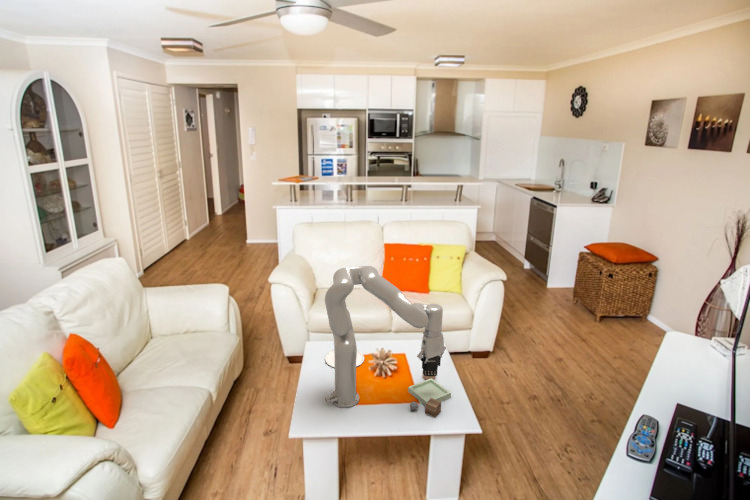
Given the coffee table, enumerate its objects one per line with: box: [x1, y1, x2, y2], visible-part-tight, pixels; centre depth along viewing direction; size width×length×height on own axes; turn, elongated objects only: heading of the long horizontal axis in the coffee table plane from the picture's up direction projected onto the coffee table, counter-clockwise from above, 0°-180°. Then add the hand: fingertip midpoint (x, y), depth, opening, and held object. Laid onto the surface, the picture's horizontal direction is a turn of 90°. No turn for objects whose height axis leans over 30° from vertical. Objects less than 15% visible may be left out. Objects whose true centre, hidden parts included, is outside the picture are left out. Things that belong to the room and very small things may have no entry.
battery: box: [422, 355, 439, 377], centre depth 201 cm, size 7×4×11 cm, turn 87°
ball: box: [409, 401, 419, 411], centre depth 194 cm, size 4×4×4 cm
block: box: [424, 398, 443, 418], centre depth 192 cm, size 5×5×5 cm
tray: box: [407, 378, 452, 407], centre depth 205 cm, size 14×14×2 cm
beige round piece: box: [422, 374, 436, 381], centre depth 218 cm, size 6×6×6 cm
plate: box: [324, 350, 365, 369], centre depth 235 cm, size 21×21×1 cm
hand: (431, 366), depth 202 cm, fingers closed on battery, 6 cm apart
